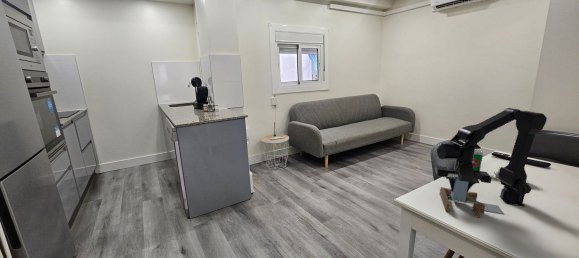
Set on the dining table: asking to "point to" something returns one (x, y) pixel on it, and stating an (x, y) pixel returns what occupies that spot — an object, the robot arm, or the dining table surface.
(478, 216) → the brown angular open frame
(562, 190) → the dining table surface
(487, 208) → the grey mat
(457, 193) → the slate block
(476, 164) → the soda can
